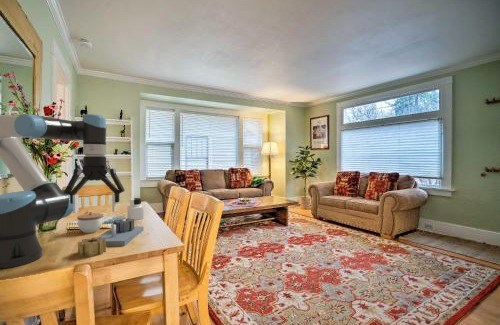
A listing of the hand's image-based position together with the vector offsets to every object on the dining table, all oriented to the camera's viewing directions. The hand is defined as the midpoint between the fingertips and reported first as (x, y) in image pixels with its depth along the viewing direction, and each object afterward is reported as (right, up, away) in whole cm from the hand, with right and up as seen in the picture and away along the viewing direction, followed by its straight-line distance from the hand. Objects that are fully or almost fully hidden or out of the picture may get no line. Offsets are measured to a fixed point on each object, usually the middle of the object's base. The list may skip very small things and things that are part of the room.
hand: (95, 211), depth 98 cm
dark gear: (0, -13, +22) cm, 25 cm away
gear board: (0, -15, +17) cm, 23 cm away
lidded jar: (-18, -15, +27) cm, 36 cm away
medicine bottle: (-8, -14, +53) cm, 55 cm away
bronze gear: (0, -15, -1) cm, 15 cm away
